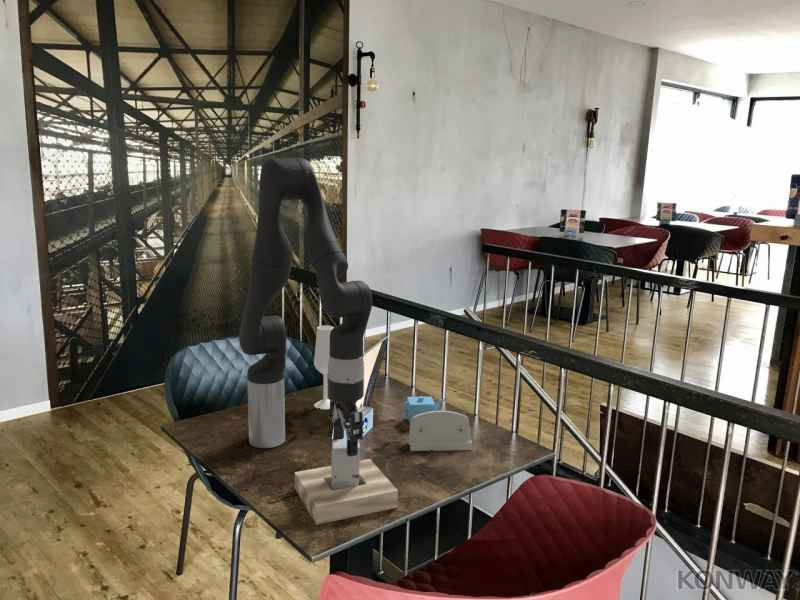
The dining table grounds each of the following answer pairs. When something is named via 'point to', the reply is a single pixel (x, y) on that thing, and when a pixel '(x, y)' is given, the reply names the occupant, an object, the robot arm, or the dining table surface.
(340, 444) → the skincare box
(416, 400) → the light blue box
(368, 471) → the well block
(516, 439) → the dining table surface
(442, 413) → the grey arched bracket
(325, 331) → the champagne flute
